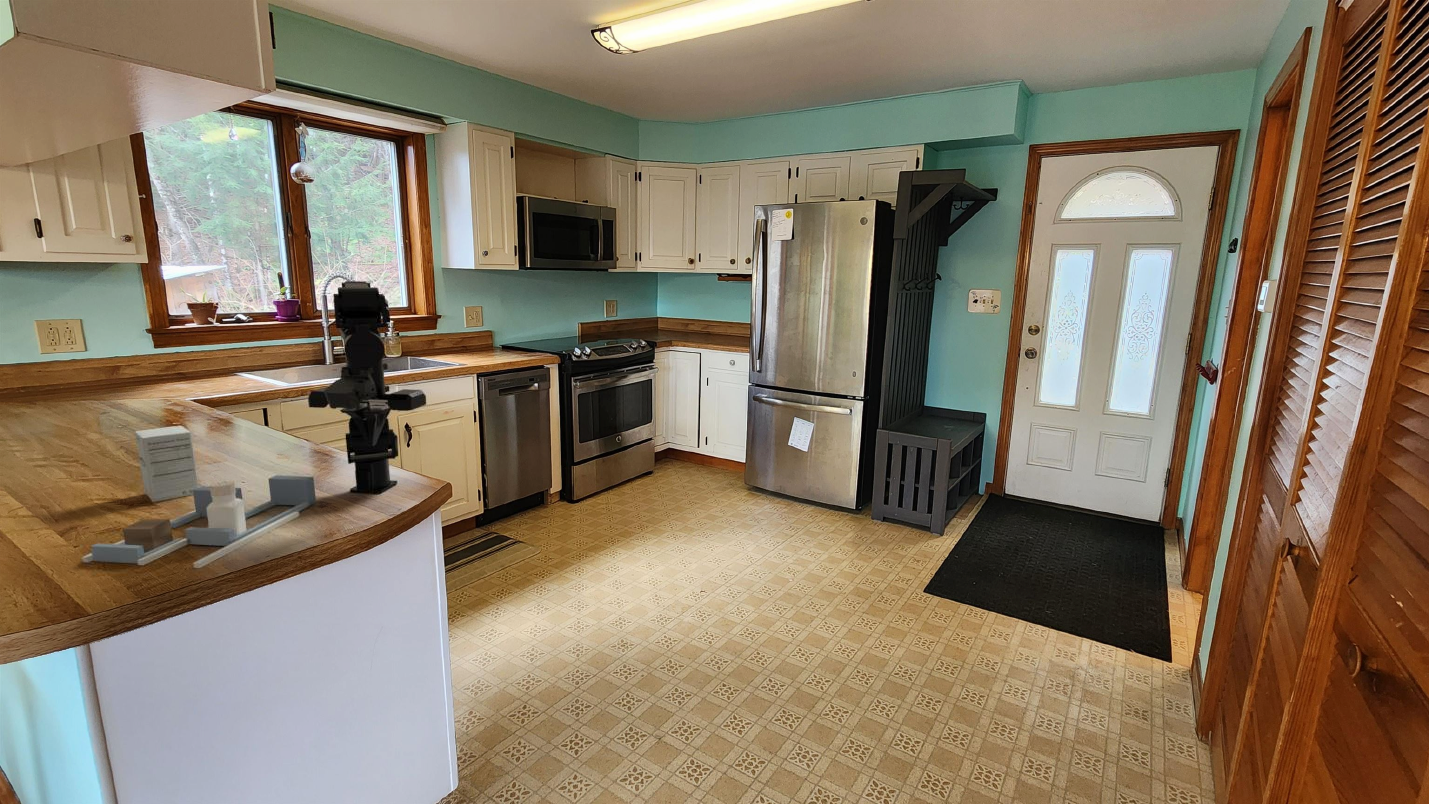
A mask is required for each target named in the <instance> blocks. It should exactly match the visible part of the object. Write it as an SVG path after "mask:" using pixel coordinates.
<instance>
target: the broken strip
mask: <svg viewBox="0 0 1429 804" xmlns="http://www.w3.org/2000/svg"><path fill="white" fill-rule="evenodd" d="M235 491H236V493H235V496H236V498H238V499H242V500H243V501H244V499H243V493H242V488H241V487H235ZM192 496H193V500H194V501H193V502H194V508H195V509H194V510H196V513H194V514H191V515H189V516H187V517H184V518H182V519H179V520H177V521H175V522H172V523H171V529H175V528H178V527H181V526H184V525H185V524H187V523H189V522H192V521H195V520H196V519H199V518H208V516H207V509H206V508H207V507H208V505H209V504H210V503H212V502H213V501H212V497H211V492H210V486H208V485H207V486H200V487H199V488H196V489H194V490H193V495H192ZM208 527H209V524H207V528H208ZM182 539H184V538H182V537H178V538H175V539H173V541H171V542H169V543H167V544H164V545H162V546H160V547H158V548H155V549H153V550H151V551H149V552H147V553H144V549H143V546H140V545H125V543H122V544H115V543H98V542H97V543H95V544H93V545H91V546H90V549H91V553H92V556H93V560H92V561H93V562H102V563H103V562H104V563H124V564H138V561H137V560H139V559H141V558H143V557H145V556H147V555H149V554H152V553H154V552H156V551H158V550H160V549H163V548H165V547H167V546H169V545H171V544H173V543H176V542H178V541H180V540H182Z"/></svg>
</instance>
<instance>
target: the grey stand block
mask: <svg viewBox="0 0 1429 804" xmlns="http://www.w3.org/2000/svg"><path fill="white" fill-rule="evenodd" d="M314 479H315V478H314V476H303V475H302V476H298V475H279V474H278V475H274V476H271V477H269V478H268V487H269V495H270V500H269V501H266V502H264V503H261V504H259V505H258V506H255V507H253V508H251V509H250V510H249V511H246V510H245V511H246V512H244V514H245V519H247V518H249V517H252V516H254V515H256V514H258V513H260V512H262V511H264V510H266V509H268V508H271V507H273V506H275V505H279V506H281V505H282V506H294V507H291V508H289V509H287V510H286V511H284V512H282V513H279V514H278V515H275V516H274V517H271V518H269V519H267V520H265V521H263V522H262V523H259V524H258V525H255V526H253V527H252V528H250V529H247V531H245V532H243V533H241V534H239V535H237V536H235V535H234V529H216V528H208V527H197V526H196V527H194V526H193V527H188V528H186V529H184V532H185V538H186V540H187V544H188V545H201V546H202V545H203V546H221V547H222V546H224V547H226V546H228V545H230V544H232V543H234V542H236V541H238V540H240V539H242V538H244V537H246V536H247V535H249V534H251V533H253V532H255V531H257V530H259V529H261V528H263V527H265V526H267V525H269V524H271V523H273V522H275V521H277V520H279V519H281V518H283V517H285V516H287V515H289V514H291V513H293V512H300V511H302V510H304V509H306V508H308V507H310V506H311V505H314V504H316V503H317V498H316V497H317V496H316V490H315V480H314Z"/></svg>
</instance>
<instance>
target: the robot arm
mask: <svg viewBox="0 0 1429 804" xmlns="http://www.w3.org/2000/svg"><path fill="white" fill-rule="evenodd" d="M333 309H334V310H333V311H334V319H335V327H336V328H335V329H336V330H337V329H339V330H340V338H342V339H343V344H344V354H345V355H344V357H345V366H341V370H340V378H338V379H336V380H335V381H333V382H332V383H331V384H330V385H329V386H326V387H322V388H318V389H314V390H311V391H310V393H309V394H308V397H307V403H308V408H315V409H316V408H318V409H323V408H326V407H327V406H329V408H330V409H333V410H335V409H340V410H339V411H340V412H341V414H346V415H347V416H349V417H350V419H349V422H348V432H346V433H345V446H346V454H347V463H348V465H349V464H351V465H352V464H354V469H355V470H354V475H355V486H353V487H352V488H351V487H350V489H349V492H352V493H371V494H372V493H373V494H381V493H383V492H384V491H387V490H388V489H389V488H391V487H393V486H396V485H397V484H398V480H392V479H391V475H390V462H389V460H393V459H396V457H399V445H398V444H399V442H398V441H399V440H398V435H397V434H396V433H395V431H394V429H392V428H391V429H390V423H389V422H390V421H389V419H388V416H389V415H390V412H392V411H399V412H400V411H401V412H408V411H413V410H417V409H419V408H421V407H423V406H426V405H427V395H426V394H425V392H424V391H423V390H422V389H405V388H404V389H401V390H397V391H394V392H391V393H388V392H390V391H391V390H390V386H389V385H385V384H386V383H385V370H388V363H387V362H386V363H384V359H383V358H384V355H385V351H386V350H385V345H384V342H383V341H382V334H381V332H380V331H379V329H380V328H381V329H385V328H388V324H390V323H391V316H390V314H391V313H390V308H389V302H388V299H386V295H384V293H380V291H379V288H378V287H371V282H367V281H364V280H361V281H360V280H359V281H358V280H357V281H356V280H355V281H353V280H346V281H344V282H341V286H339V287H337V293H333Z"/></svg>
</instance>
